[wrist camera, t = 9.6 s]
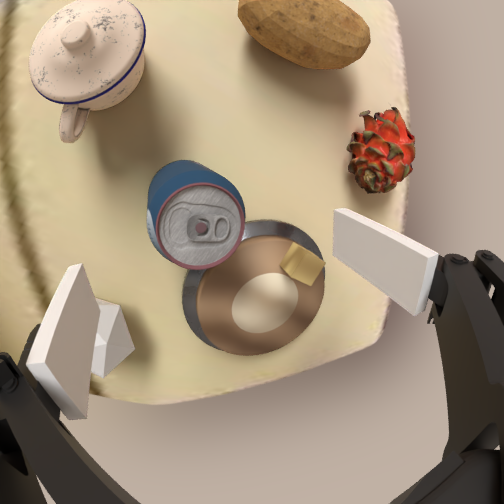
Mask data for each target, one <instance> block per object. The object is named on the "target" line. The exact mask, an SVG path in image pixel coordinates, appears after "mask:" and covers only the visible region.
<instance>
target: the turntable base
mask: <svg viewBox="0 0 504 504" xmlns="http://www.w3.org/2000/svg"><path fill="white" fill-rule="evenodd" d="M259 235H279V236H283V237H287V238H290V239H292V240H294V241H296V242H297V243H299V244H300V245H302V246H303V247H304V248H305V249H307V250H309V251H311V252H312V253H314V254H315V255H316V256H318V257H319V258H320V259H321V260H323V258H322V255H321V252H320V250H319V248H318V246H317V245H316V244H315V242H314V241H313V240H312V239H311V238H310V237H309V236H308V235H307V234H306V233H305V232H303V231H302V230H300V229H299V228H297V227H295V226H293V225H291V224H289V223H286V222H282V221H277V220H255V221H249V222H245V228H244V234H243V237H242V240H244V239H246V238H250V237H254V236H259ZM205 270H206V269H202V270H192V269H188V272H187V274H186V277H185V280H184V284H183V290H182V305H183V310H184V314H185V317H186V320H187V323H188V324H189V326H190V328H191V329H192V331H193V332H194V333H195V334H196V336H197V337H199V338H200V339H201V340H202V341H203V342H205V343H206V344H208V345H210V346H212V347H214V348H216V349H219V350H221V349H220V348H218V347H217V346H215V345H214V344H213V343H212V342H211V341H210V340H209V339H208V338H207V337H206V335H205V333H204V332H203V330H202V327H201V324H200V321H199V318H198V315H197V310H196V293H197V288H198V285H199V282H200V280H201V278H202V276H203V274H204V272H205ZM322 272H323V275H324V280H325V267H323V268H322ZM222 351H224V350H222Z"/></svg>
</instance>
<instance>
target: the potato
mask: <svg viewBox="0 0 504 504" xmlns="http://www.w3.org/2000/svg"><path fill="white" fill-rule="evenodd" d="M238 17H239V19H240V21H241V22H242V24H243V25H244V27H245V29H246V30H247V32H248V33H249V34H250V35H251V36H252V37H253V38H254V39H255V40H257V41H258V42H259V43H260V44H261V45H262V46H264V47H266V48H267V49H269V50H271V51H272V52H274V53H276V54H278V55H280V56H282V57H283V58H285V59H287V60H289V61H291V62H294V63H296V64H298V65H300V66H302V67H307V68H313V69H342V68H344V67H346V66H348V65H350V64H351V63H353V62H355V61H356V60H358V59H360V58H361V57H362V55H363V54H364V53H365V51H366V49H367V48H368V46H369V44H370V30H369V27H368V25H367V24H366V23H365V21H364V20H363V19H362V17H361V16H359V15H358V14H357V13H356V12H354V11H353V10H352V9H351V8H349V7H348V6H346V5H345V4H344V3H342V2H341V1H339V0H239V5H238Z"/></svg>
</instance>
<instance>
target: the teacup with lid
mask: <svg viewBox="0 0 504 504" xmlns="http://www.w3.org/2000/svg"><path fill="white" fill-rule="evenodd" d="M145 38H146V29H145V23H144V20H143V17H142V15H141V14H140V12H139V11H138V9H137V8H136V7H135V6H134V5H132V4H131V3H130V2H128V1H126V0H76V1H74V2H72V3H70V4H68V5H67V6H65V7H63V8H62V9H60V10H59V11H58V12H57V13H55V14H54V15H53V16H52V17H51V18H50V19H49V20H48V21H47V22H46V23H45V25H44V26H43V27H42V28H41V30H40V31H39V33H38V35H37V37H36V38H35V41H34V43H33V45H32V48H31V52H30V57H29V72H30V77H31V80H32V83H33V85H34V87H35V88H36V90H37V91H38V92H39V93H40V94H41V95H42V96H43V97H45V98H46V99H48V100H50V101H53V102H55V103H59V104H64V106H63V110H62V114H61V118H60V125H59V134H60V138H61V140H62V141H63V142H65V143H74V142H75V141H77V140H78V138H79V137H80V136H81V134H82V132H83V130H84V128H85V125H86V122H87V119H88V115H89V111H90V110H93V111H94V110H103V109H107V108H110V107H112V106H114V105H116V104H118V103H120V102H121V101H123V100H124V99H125V98H126V97H128V96H129V95H130V94H131V93H132V92H133V90H134V89H135V88H136V86H137V85H138V83H139V81H140V79H141V77H142V74H143V71H144V64H145V59H144V44H145Z"/></svg>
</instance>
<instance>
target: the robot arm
mask: <svg viewBox="0 0 504 504" xmlns="http://www.w3.org/2000/svg"><path fill="white" fill-rule="evenodd" d="M333 256H334V257H336V258H337V259H338V260H340V261H341V262H343V263H344V264H345V265H347V266H348V267H350V268H351V269H352V270H354V271H355V272H356V273H358V274H359V275H360V276H362V277H363V278H365V279H366V280H367V281H369V282H370V283H371V284H373V285H374V286H375V287H377V288H378V289H379V290H381V291H382V292H383V293H385V294H386V295H387V296H389V297H390V298H391V299H392V300H394V301H395V302H396V303H398V304H399V305H401V306H402V307H403V308H404V309H405V310H407V311H408V312H409V313H411V314H412V315H413V316H416V315H417V314H419V313H421V312H423V311H424V310H425V308H426V305H427V301H428V298H429V299H430V300H432V301H433V304H432V308H431V311H430V314H429V317H428V321H427V323H428V324H429V323H430V321H431V319H432V318H434V321H433V324H435V327H436V331H437V336H438V341H439V347H440V352H441V358H442V364H443V371H444V379H445V386H446V394H447V395H446V396H447V407H448V419H449V439H448V442H447V445H446V447H445V450H444V453H443V458H442V462H440V463H439V464H438V465H437V466H436V467H435V468H434V469H432V470H431V471H430V472H429V473H427V474H426V475H425V476H424V477H422V478H421V479H420V480H419V481H418V482H416V483H415V484H414V485H413V486H411V487H410V488H409V489H407V490H406V491H405V492H404V493H402V494H401V495H399V496H398V497H397V498H396V499H394V500H393V501H392V502H391V503H390V504H504V262H503V261H501V259H499V258H498V257H497V256H496V255H495V254H493V253H491V252H490V251H488V250H479V251H477V252H476V255H475V259H474V261H469V260H468V259H467V258H466V257H463V256H461V255H458V254H447V255H445V257H442V256H440V255H439V254H438V253H437V252H435V251H433V250H431V249H429V248H427V247H426V246H424V245H422V244H420V243H418V242H416V241H414V240H412V239H410V238H408V237H406V236H404V235H402V234H400V233H398V232H396V231H394V230H392V229H390V228H388V227H386V226H384V225H382V224H379V223H377V222H375V221H373V220H371V219H369V218H367V217H364V216H362V215H360V214H358V213H356V212H354V211H351V210H349V209H347V208H340V209H334V227H333ZM492 284H493V285H494V287H495V290H494V293H493V296H492V298H491V299H490V297H489V295H488V294H489V291H490V288H491V285H492ZM100 312H101V311H100V309H99V306H98V304H97V301H96V299H95V296H94V294H93V291H92V288H91V286H90V283H89V280H88V278H87V275H86V272H85V269H84V266H83V263H80V264H76V265H72V266H69V267H68V269H67V271H66V273H65V275H64V276H63V278H62V280H61V282H60V284H59V286H58V288H57V290H56V292H55V294H54V297H53V299H52V301H51V303H50V305H49V307H48V309H47V312H46V314H45V316H44V319H43V321H42V323H41V324H37V326H36V327H35V328H34V329H33V330H32V331H31V333H30V335H29V337H28V340H27V343H26V344H25V347H24V351H23V352H22V355H21V357H20V360H19V363H18V365H16V364H15V362H14V361H13V359H12V358H11V356H10V355H9V354H8V353H5V352H1V353H0V504H47V502H46V499H45V497H44V495H43V492H42V490H41V487H40V485H39V482H38V480H37V477H38V478H39V480H40V481H41V483H42V484H43V486H44V487H45V489H46V490H47V492H48V493H49V494H50V496H51V497H52V498H53V500H54V501H55V503H56V504H140V503H139V502H138V501H137V500H136V499H134V498H133V497H132V496H131V495H130V494H129V493H128V492H126V491H125V490H124V489H123V488H122V487H121V486H120V485H119V484H118V483H117V482H116V481H114V480H113V479H112V478H111V477H110V476H109V475H108V474H107V473H106V472H105V471H104V470H103V469H102V468H101V467H100V466H99V465H98V464H97V463H96V461H94V459H93V458H92V457H91V456H90V455H89V454H88V453H87V452H86V451H85V449H84V448H83V447H82V446H81V445H80V444H79V442H78V441H77V440H76V439H75V438H74V436H73V435H72V434H71V433H70V431H69V430H68V429H67V428H66V426H65V425H64V424H63V423H62V422H61V421H60V420H59V417H60V410H61V411H62V412H63V414H64V415H65V416H66V417H67V418H68V419H69V420H76V419H86V418H87V408H88V395H89V385H90V376H91V367H92V360H93V353H94V346H95V340H96V334H97V328H98V323H99V317H100ZM498 445H500V450H494V449H495V448H496V447H497V446H498ZM36 475H37V477H36Z"/></svg>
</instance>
